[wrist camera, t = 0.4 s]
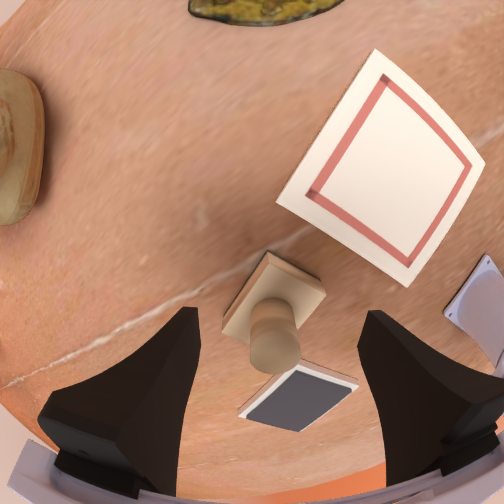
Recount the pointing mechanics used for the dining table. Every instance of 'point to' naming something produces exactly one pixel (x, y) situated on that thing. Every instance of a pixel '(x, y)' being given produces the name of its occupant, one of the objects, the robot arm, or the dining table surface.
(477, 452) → the robot arm
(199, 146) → the dining table surface
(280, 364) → the stamp
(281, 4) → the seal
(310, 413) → the ink pad
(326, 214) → the board
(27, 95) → the ceramic vessel
